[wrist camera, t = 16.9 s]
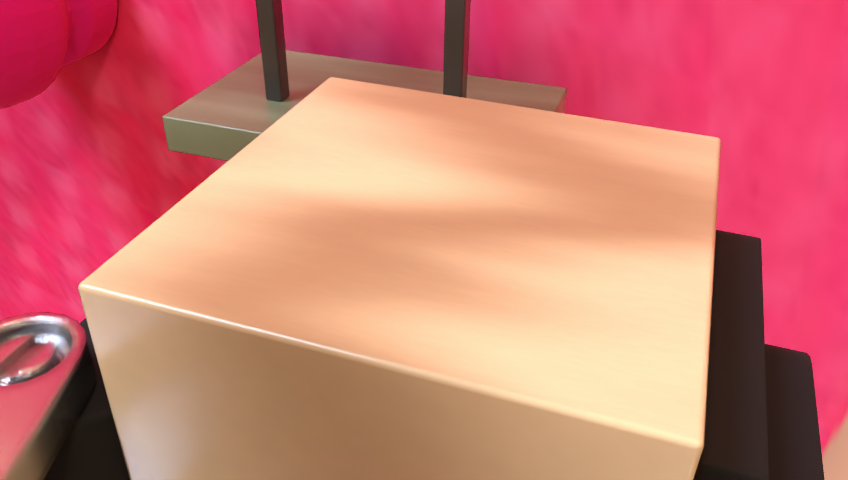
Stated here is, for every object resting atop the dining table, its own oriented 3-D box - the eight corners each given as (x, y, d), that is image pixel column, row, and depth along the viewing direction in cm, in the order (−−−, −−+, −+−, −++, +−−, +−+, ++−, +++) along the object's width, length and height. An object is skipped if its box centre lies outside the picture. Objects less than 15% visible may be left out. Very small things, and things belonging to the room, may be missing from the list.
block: (721, 136, 9) (705, 445, 5) (644, 435, 12) (595, 788, 8) (330, 75, 10) (73, 283, 6) (341, 357, 13) (168, 626, 9)
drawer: (247, -164, 26) (113, -137, 20) (594, -145, 23) (545, -108, 17) (296, 325, 37) (219, 425, 32) (533, 382, 34) (492, 505, 28)
